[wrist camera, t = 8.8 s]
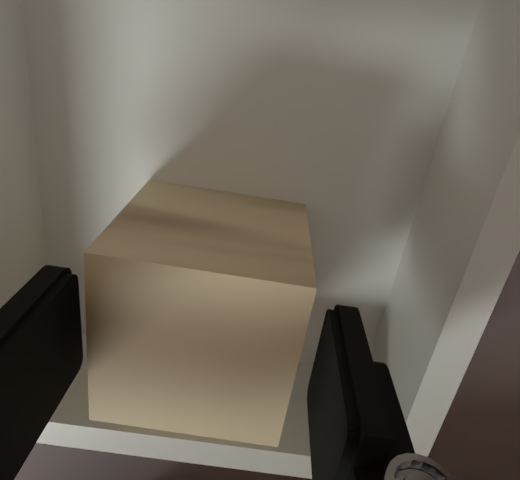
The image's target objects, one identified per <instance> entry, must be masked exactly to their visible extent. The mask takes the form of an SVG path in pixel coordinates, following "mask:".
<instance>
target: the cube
mask: <svg viewBox="0 0 520 480" xmlns="http://www.w3.org/2000/svg"><path fill="white" fill-rule="evenodd" d="M84 282H85V312H86V342H87V372H88V402H89V420H94V421H101V422H108V423H115V424H121V425H128V426H135V427H142V428H149V429H156V430H163V431H169V432H176V433H183V434H190V435H197V436H204V437H210V438H217V439H224V440H231V441H238V442H245V443H252V444H258V445H265V446H272V447H278V445H279V441H280V437H281V433H282V429H283V424H284V420H285V416H286V412H287V408H288V404H289V400H290V396H291V392H292V388H293V384H294V380H295V376H296V372H297V368H298V364H299V360H300V356H301V351H302V347H303V343H304V339H305V335H306V331H307V327H308V323H309V319H310V315H311V311H312V307H313V303H314V299H315V295H316V291H317V285H316V277H315V270H314V262H313V255H312V247H311V240H310V232H309V225H308V217H307V210H306V204H300V203H294V202H288V201H281V200H275V199H269V198H263V197H256V196H250V195H244V194H237V193H231V192H225V191H219V190H212V189H206V188H200V187H193V186H187V185H181V184H175V183H168V182H162V181H156V180H149V181H148V182H147V183H146V184H145V185H144V186H143V187H142V188H141V189H140V191H139V192H138V193H137V194H136V195H135V196H134V197H133V198H132V199H131V200H130V202H129V203H128V204H127V205H126V206H125V207H124V208H123V209H122V210H121V211H120V213H119V214H118V215H117V216H116V217H115V218H114V219H113V220H112V221H111V223H110V224H109V225H108V226H107V227H106V228H105V229H104V230H103V231H102V232H101V234H100V235H99V236H98V237H97V238H96V239H95V240H94V241H93V242H92V243H91V245H90V246H89V247H88V248H87V249H86V250H85V251H84Z"/></svg>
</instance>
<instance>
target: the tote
mask: <svg viewBox="0 0 520 480" xmlns="http://www.w3.org/2000/svg"><path fill="white" fill-rule="evenodd" d="M149 180H156V181H162V182H168V183H175V184H181V185H187V186H193V187H200V188H206V189H212V190H219V191H225V192H231V193H237V194H244V195H250V196H256V197H263V198H269V199H275V200H281V201H288V202H294V203H300V204H306V210H307V217H308V225H309V232H310V240H311V247H312V255H313V262H314V270H315V277H316V285H317V291H316V295H315V299H314V303H313V307H312V311H311V315H310V319H309V323H308V327H307V331H306V335H305V339H304V343H303V347H302V351H301V356H300V360H299V364H298V368H297V372H296V376H295V380H294V384H293V388H292V392H291V396H290V400H289V404H288V408H287V412H286V416H285V420H284V424H283V429H282V433H281V437H280V441H279V445H278V447H272V446H265V445H258V444H252V443H245V442H238V441H231V440H224V439H217V438H210V437H204V436H197V435H190V434H183V433H176V432H169V431H163V430H156V429H149V428H142V427H135V426H128V425H121V424H115V423H108V422H101V421H94V420H89V402H88V372H87V342H86V312H85V282H84V251H85V250H86V249H87V248H88V247H89V246H90V245H91V243H92V242H93V241H94V240H95V239H96V238H97V237H98V236H99V235H100V234H101V232H102V231H103V230H104V229H105V228H106V227H107V226H108V225H109V224H110V223H111V221H112V220H113V219H114V218H115V217H116V216H117V215H118V214H119V213H120V211H121V210H122V209H123V208H124V207H125V206H126V205H127V204H128V203H129V202H130V200H131V199H132V198H133V197H134V196H135V195H136V194H137V193H138V192H139V191H140V189H141V188H142V187H143V186H144V185H145V184H146V183H147V182H148V181H149ZM519 251H520V0H0V308H1V307H2V306H3V305H4V304H5V303H6V302H7V301H8V300H9V299H10V298H11V297H12V296H13V295H14V294H16V293H17V292H18V291H19V290H20V289H21V288H22V287H23V286H24V285H25V284H26V283H27V282H28V281H29V280H30V279H31V278H32V277H33V276H34V275H35V274H36V273H37V272H38V271H39V270H40V269H41V268H42V267H43V266H45V265H52V266H59V267H67V268H70V269H71V271H72V274H76V275H77V276H78V282H79V297H80V313H81V329H82V345H83V362H82V365H81V368H80V370H79V372H78V374H77V375H76V377H75V379H74V380H73V382H72V384H71V385H70V387H69V389H68V390H67V392H66V394H65V395H64V397H63V399H62V400H61V402H60V404H59V405H58V407H57V409H56V410H55V412H54V414H53V415H52V417H51V419H50V420H49V422H48V424H47V425H46V427H45V429H44V430H43V432H42V434H41V435H40V437H39V439H38V440H37V442H36V443H41V444H49V445H57V446H64V447H72V448H79V449H87V450H95V451H102V452H110V453H118V454H125V455H133V456H140V457H148V458H156V459H163V460H171V461H178V462H186V463H194V464H201V465H209V466H217V467H224V468H232V469H239V470H247V471H255V472H262V473H270V474H278V475H285V476H293V477H300V478H308V479H312V470H311V455H310V440H309V425H308V409H307V390H308V385H309V380H310V376H311V372H312V368H313V364H314V360H315V355H316V351H317V347H318V343H319V339H320V335H321V330H322V326H323V322H324V318H325V314H326V311H327V309H332V310H334V307H335V305H344V306H351V307H357V308H358V309H359V311H360V315H361V319H362V322H363V326H364V330H365V333H366V337H367V340H368V344H369V348H370V351H371V355H372V359H373V361H375V362H383V363H385V364H386V365H387V366H388V369H389V371H390V375H391V378H392V381H393V384H394V387H395V390H396V394H397V397H398V400H399V403H400V406H401V409H402V413H403V416H404V419H405V422H406V425H407V429H408V432H409V435H410V438H411V441H412V444H413V448H414V451H415V454H420V455H423V456H426V457H428V455H429V453H430V451H431V448H432V446H433V444H434V442H435V439H436V437H437V435H438V433H439V430H440V428H441V426H442V424H443V421H444V419H445V417H446V415H447V412H448V410H449V408H450V406H451V403H452V401H453V399H454V397H455V394H456V392H457V390H458V388H459V385H460V383H461V381H462V379H463V376H464V374H465V372H466V370H467V368H468V365H469V363H470V361H471V359H472V356H473V354H474V352H475V350H476V347H477V345H478V343H479V341H480V338H481V336H482V334H483V332H484V329H485V327H486V325H487V323H488V320H489V318H490V316H491V314H492V311H493V309H494V307H495V305H496V302H497V300H498V298H499V296H500V293H501V291H502V289H503V287H504V284H505V282H506V280H507V278H508V276H509V273H510V271H511V269H512V267H513V264H514V262H515V260H516V258H517V255H518V253H519Z"/></svg>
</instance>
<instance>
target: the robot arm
mask: <svg viewBox="0 0 520 480" xmlns="http://www.w3.org/2000/svg"><path fill="white" fill-rule="evenodd" d="M82 362H83V345H82V329H81V313H80V297H79V282H78V276H77V275H76V274H72V271H71V269H70V268H67V267H59V266H52V265H45V266H43V267H42V268H41V269H40V270H39V271H38V272H37V273H36V274H35V275H34V276H33V277H32V278H31V279H30V280H29V281H28V282H27V283H26V284H25V285H24V286H23V287H22V288H21V289H20V290H19V291H18V292H17V293H16V294H14V295H13V296H12V297H11V298H10V299H9V300H8V301H7V302H6V303H5V304H4V305H3V306H2V307H1V308H0V480H14V478H15V477H16V475H17V473H18V472H19V470H20V468H21V467H22V465H23V463H24V462H25V460H26V458H27V457H28V455H29V453H30V452H31V450H32V449H33V447H34V445H35V444H36V442H37V440H38V439H39V437H40V435H41V434H42V432H43V430H44V429H45V427H46V425H47V424H48V422H49V420H50V419H51V417H52V415H53V414H54V412H55V410H56V409H57V407H58V405H59V404H60V402H61V400H62V399H63V397H64V395H65V394H66V392H67V390H68V389H69V387H70V385H71V384H72V382H73V380H74V379H75V377H76V375H77V374H78V372H79V370H80V368H81V365H82ZM307 409H308V425H309V440H310V455H311V470H312V480H456V478H455V477H454V476H453V474H452V473H451V472H449V471H448V470H447V469H446V468H445V467H444V466H443V465H441V464H440V463H438V462H436V461H434V460H433V459H431V458H429V457H426V456H423V455H420V454H415V451H414V448H413V444H412V441H411V438H410V435H409V432H408V429H407V425H406V422H405V419H404V416H403V413H402V409H401V406H400V403H399V400H398V397H397V394H396V390H395V387H394V384H393V381H392V378H391V375H390V371H389V369H388V366H387V365H386V364H385V363H383V362H375V361H373V359H372V355H371V351H370V348H369V344H368V340H367V337H366V333H365V330H364V326H363V322H362V319H361V315H360V311H359V309H358V308H357V307H351V306H344V305H335V307H334V310H332V309H327V311H326V314H325V318H324V322H323V326H322V330H321V335H320V339H319V343H318V347H317V351H316V355H315V360H314V364H313V368H312V372H311V376H310V380H309V385H308V390H307Z"/></svg>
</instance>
